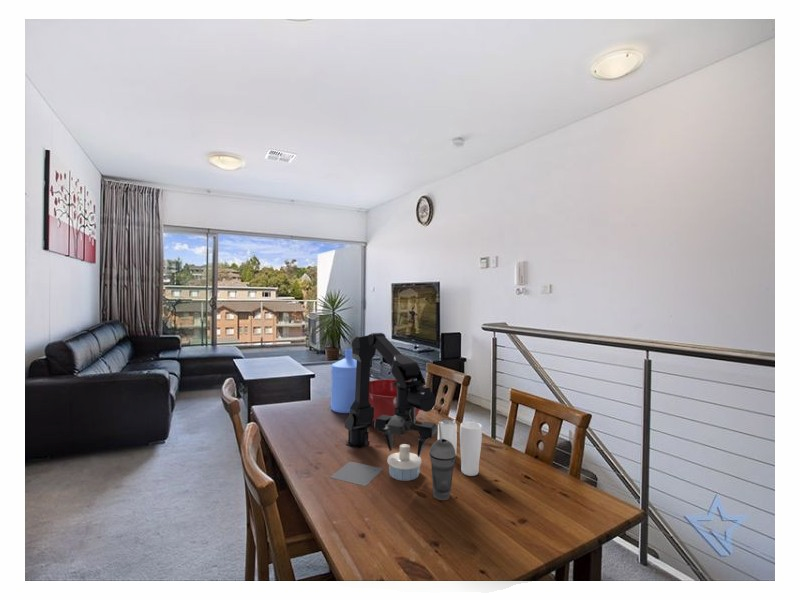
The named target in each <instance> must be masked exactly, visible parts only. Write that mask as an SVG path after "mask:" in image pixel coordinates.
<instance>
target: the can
mask: <svg viewBox="0 0 800 600" xmlns="http://www.w3.org/2000/svg"><path fill="white" fill-rule="evenodd" d="M439 423H440V424H441V437H442V439H446V440H448V441H450V442H451V443H452V445H453V446H454V449H455V454H456V455H457V446H458V444H457V443H458V438H457V437H458V426H457V425H458V424H457V421H456V420H455V419H452V418H441V419H439V422H438V424H437V440H439V439H440V434H439Z"/></svg>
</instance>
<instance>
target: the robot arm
mask: <svg viewBox="0 0 800 600" xmlns="http://www.w3.org/2000/svg"><path fill="white" fill-rule="evenodd" d="M351 349H352V356H354V358H355V360H357V366H356V389H355V401H354V403H353V404H352V406H351V408H350V413H348V416H347V417H346V419H345V420H344V422H343V424H344V428H345V429H346V430H348V434H347V435H348V436H347V437H348V438H347V441H348V442H347V443H345V446H348V447H353V448H357V449H363V448H364V447H366V446H367V445H369V444H370V440H369V438H370V437H369V436H370V435H369V430H368V429H369V428H372V426H373V427H374V429H377V431H378V432H380V433H382V435H383V436H384V439H385V442H386V444H387V447H388V451H389V452H392V451H393V448H394V447H393V446H394V435H398V436H400V437H402V436H404V435H405V434H406V433H407V432H411V431H415V432H416V431H417V432H418V436H417V439H418V441H417V442H418V444H417V455H418V457H419V456H421V453H422V452H423V450H424V449H423V448H424V447H425V444H426V442H427V441H428V440H429V439H432V438H433V437H434V436H435V435H437V434H438V424H436V423H435V422H431V421H423V422H422V424H418V423H417V422H416V421H417V417H416V418H415V409H416V408H418V409H420V410H421V411H422V412H425V413H427V412H430V411H432V410H433V408H434V407H435V405H436V396H435V394H434V393H433V392H432V391H431V387H430V386H426V385H427V383H426V381H425V380H426V379H425V377H424V375H423V374H422V371H421V369H420V366H419V363H418V362H417V361H415V360H414V359H413V358H410V357H408V356H405V355H403V354H402V353H401V352H400V351H399V350H398V349H397V348H396V347H395V346H394V345H393V343H392V342H391V341H390V340H389V339H388V338H387V337H386V334H385V333H383V332H372V333H370V334H368V335H363V336H355V337H354V338H353V339H352V342H351ZM376 351H377V352H378V353H379V354H380V355H381V356H382V358H383V359H384V360H385V361H386V362H387V364H389V366H390V372H391V374H392V375H393V377H394V379H395V380H397V381H396V382H394V383H393V385H394V386H396V387H397V406H396V407H395V410H394V415H393V416H388V415H381V416H380V417H378V418H377V419H376V420H375V422H374V421H373V418H374V407H372V406H371V404H370V402H369V386H370V381H371V380H370V379H371V362H372V360H373V358H374V357H375V355H376ZM406 381H409V382H406ZM423 385H424V386H423ZM420 410H419V411H420ZM373 422H374V423H373Z"/></svg>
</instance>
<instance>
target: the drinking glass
mask: <svg viewBox="0 0 800 600" xmlns="http://www.w3.org/2000/svg"><path fill="white" fill-rule="evenodd" d="M459 427H460V428H459V445H460V446H459V449H460V450H459V451H460V470H461V473H462V474H463V475H465V476H468V477H474V476H477V475H478V474H479V471H480V470H479V469H480V467H479V466H480V457H481V452H482V451H481V449H482V443H483V442H482V439H483V426H482V424H481V423H479V422H475V421H463V422H461V423H460V425H459Z"/></svg>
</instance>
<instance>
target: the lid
mask: <svg viewBox="0 0 800 600" xmlns="http://www.w3.org/2000/svg"><path fill="white" fill-rule="evenodd" d="M420 456H421V455H420ZM420 456H419V457H418V454H416V453H414V452H411V446H410V444H406V443H402V444H400V445H399V452H394V453H391V454H389V455H388V457H387V461H386V463H387V464H388V466H389V465H390V466H391V467H394V468H397V469H403V470H408V469H414V468H417V467H419V466H420V467H421V465H422V458H421V457H420Z"/></svg>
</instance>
